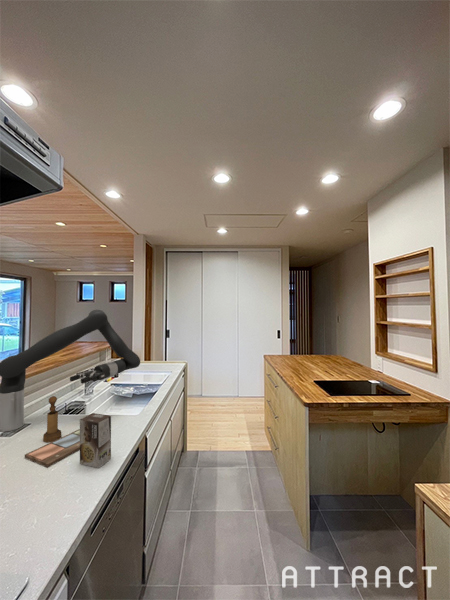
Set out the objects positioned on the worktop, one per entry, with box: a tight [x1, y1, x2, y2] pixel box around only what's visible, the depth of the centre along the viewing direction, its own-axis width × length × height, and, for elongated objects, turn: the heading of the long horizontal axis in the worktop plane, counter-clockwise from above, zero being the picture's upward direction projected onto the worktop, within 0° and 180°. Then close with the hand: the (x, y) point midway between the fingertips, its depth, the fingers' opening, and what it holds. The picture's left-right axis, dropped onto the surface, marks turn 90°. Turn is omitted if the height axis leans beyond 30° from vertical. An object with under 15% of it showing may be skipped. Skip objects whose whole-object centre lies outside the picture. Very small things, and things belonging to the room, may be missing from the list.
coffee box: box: [79, 412, 112, 469], centre depth 98 cm, size 9×6×16 cm
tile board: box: [24, 428, 80, 468], centre depth 109 cm, size 14×27×2 cm, turn 155°
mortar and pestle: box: [42, 395, 62, 443], centre depth 114 cm, size 7×6×18 cm
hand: (75, 380), depth 124 cm, fingers open, 8 cm apart
